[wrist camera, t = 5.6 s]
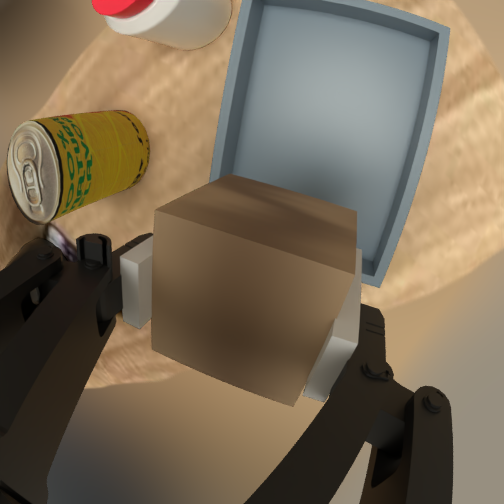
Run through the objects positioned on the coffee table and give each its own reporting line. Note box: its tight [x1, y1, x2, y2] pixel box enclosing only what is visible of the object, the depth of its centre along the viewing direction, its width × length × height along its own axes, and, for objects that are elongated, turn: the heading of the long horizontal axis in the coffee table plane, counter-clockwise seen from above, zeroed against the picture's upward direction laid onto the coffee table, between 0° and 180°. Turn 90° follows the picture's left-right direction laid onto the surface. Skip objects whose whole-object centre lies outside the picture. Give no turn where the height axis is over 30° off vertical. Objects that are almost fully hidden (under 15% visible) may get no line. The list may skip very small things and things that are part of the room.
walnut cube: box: [151, 174, 357, 407], centre depth 12 cm, size 6×6×6 cm
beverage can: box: [7, 110, 150, 225], centre depth 26 cm, size 9×9×12 cm
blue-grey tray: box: [209, 0, 450, 288], centre depth 22 cm, size 16×22×4 cm
